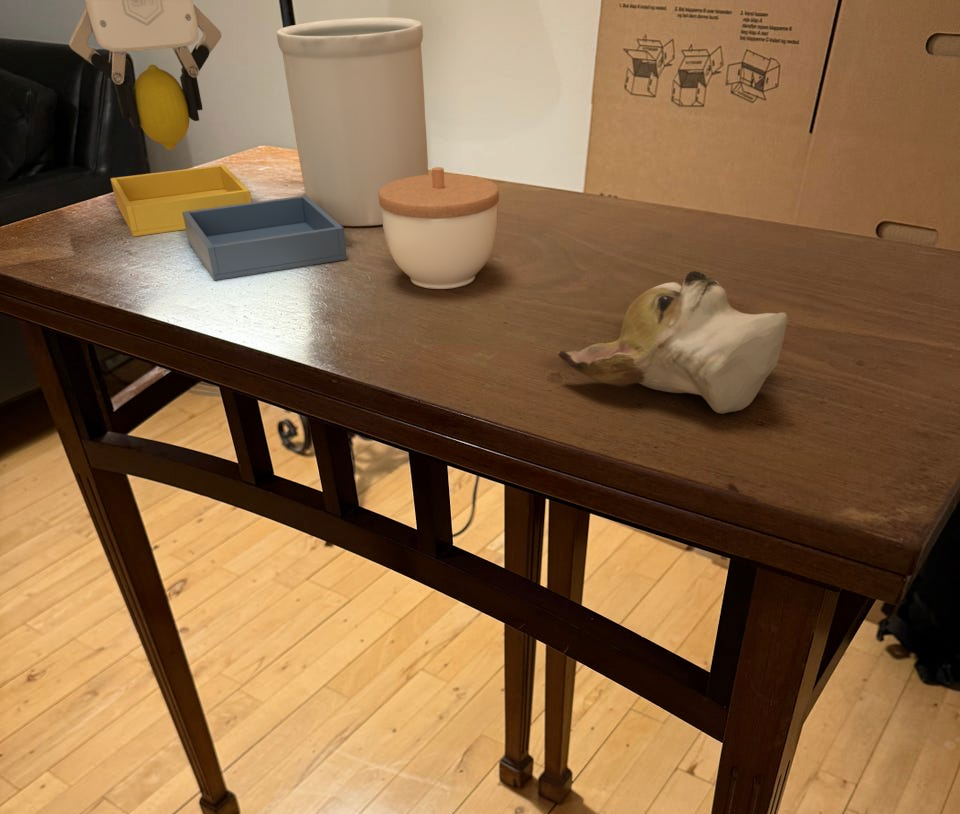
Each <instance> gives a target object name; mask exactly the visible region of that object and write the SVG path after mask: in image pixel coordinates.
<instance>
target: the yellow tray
mask: <svg viewBox="0 0 960 814" xmlns="http://www.w3.org/2000/svg"><path fill="white" fill-rule="evenodd" d="M110 182H111V187H112V190H113V194H114V195H113V196H114V198H115V202H116V206H117V208H118V210H119V212H120V214H121V216H122V218H123V219H124V222H125V223H126V225H127V227H128V229H129V231H130V233H131V235H132V237H139V236H148V235H154V234H162V233H169V232H170V233H171V232H176V231H183V230H186V227H185V223H184V218H183V213H182V212H186V211H193V210H201V209H208V208H216V207H223V206H230V205H238V204H245V203H253V202H252V196H251V191H250V189H249V188H248V187H247V186H246V185H245V184H244V183H243V182H242V181H241V180H240V179H239V178H238V177H237V176H236V175H235V174H234V173H233V172H232V171H231V170H230V169H229V168H228V167H227V166H226V164H219V165H210V166H209V165H208V166H201V167H193V168H186V169H185V168H184V169H177V170H168V171H159V172H151V173H145V174H144V173H143V174H136V175H135V174H134V175H128V176H127V175H126V176H118V177H111V178H110Z"/></svg>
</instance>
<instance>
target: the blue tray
mask: <svg viewBox="0 0 960 814" xmlns="http://www.w3.org/2000/svg"><path fill="white" fill-rule="evenodd" d="M182 213H183V218H184V223H185V227H186V229H185V231H186V236H187V240H188V243H189V245H190V246H191V248H192V249H193V251H194V253H196V255H197V257H198V258H199V260H200V261H201V262H202V264H203V266H204V267H205V268H206V271H208V273H209V274H210V276H211V278H212V279H213V280H214V281H219V280H227V279H232V278H239V277H244V276H245V277H246V276H251V275H258V274H264V273H270V272H276V271H282V270H289V269H295V268H302V267H308V266H314V264H315V265H320V264H326V263H327V264H328V263H333V262H340V261H345V260H348V256H347V248H346V239H345V237H346V236H345V229H344V226H341V225H340V224H339V223H337V222H336V221H335V220H334V219H333V218H332V217H331V216H329V215H328V214H327V213H326V212H325V211H324V210H322V209H321V208H320V207H319V206H318V205H317V204H316V203H314V202H313V201H312V200H311V199H310V198H309V197H308V196H306V194H305V195H298V196H289V197H282V198H275V199H269V200H262V201H261V200H260V201H253V202H252V203H245V204H238V205H230V206H223V207H216V208H208V209H201V210H193V211H186V212H182Z"/></svg>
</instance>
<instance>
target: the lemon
mask: <svg viewBox="0 0 960 814" xmlns="http://www.w3.org/2000/svg"><path fill="white" fill-rule="evenodd" d="M132 92H133V96H134V100H135V105H136V109H137V113H138V118H139V122H140V126H139V127H140V128H141V129H142V131H143V133H145V135H146V136H148V138H149V139H151V140H152V141H154V142H155V143H158V144H160V145H162V146H163V147H164V148H165V149H166V150H168V151H173V150H174V149H175V147H176V146H177V144H178V143H179V142H180V141H181V140H183V138H185V136H186V135H187V133H188V130H189V127H190V117H189V109H188V104H187V101H186V97H185V95H184V92H183V90H182V85H181V83H179V81H178V80H177V79H176V78H175V77H174V76H173V75H172V74H171V73H169V72H167V71H166V70H163V69H161V68H159V67H158V66H157V65H156V64H149V65H148V66H147V69H146V70H144V71H143V72H141V73H140V74H139V75H138V77H137V78H136V80H135V82H134V84H133V89H132Z"/></svg>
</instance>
